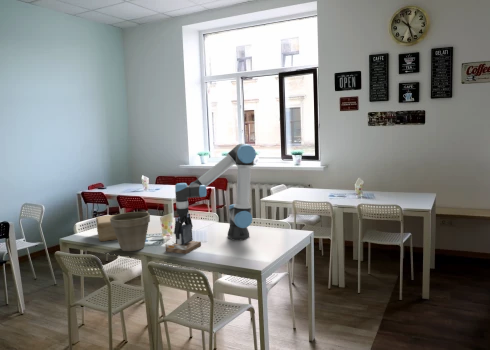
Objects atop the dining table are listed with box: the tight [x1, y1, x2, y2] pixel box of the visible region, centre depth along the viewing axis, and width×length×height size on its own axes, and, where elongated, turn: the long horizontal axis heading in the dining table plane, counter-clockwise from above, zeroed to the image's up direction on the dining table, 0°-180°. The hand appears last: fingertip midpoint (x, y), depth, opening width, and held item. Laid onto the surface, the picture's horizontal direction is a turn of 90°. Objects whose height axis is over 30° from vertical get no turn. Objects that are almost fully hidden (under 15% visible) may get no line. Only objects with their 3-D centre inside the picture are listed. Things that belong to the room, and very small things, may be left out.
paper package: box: [95, 214, 117, 242], centre depth 302 cm, size 27×26×14 cm
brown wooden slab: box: [164, 240, 202, 255], centre depth 264 cm, size 15×18×4 cm
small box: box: [174, 223, 194, 245], centre depth 264 cm, size 11×6×10 cm, turn 155°
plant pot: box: [110, 211, 151, 252], centre depth 268 cm, size 25×25×22 cm
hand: (184, 241), depth 265 cm, fingers closed on small box, 10 cm apart
